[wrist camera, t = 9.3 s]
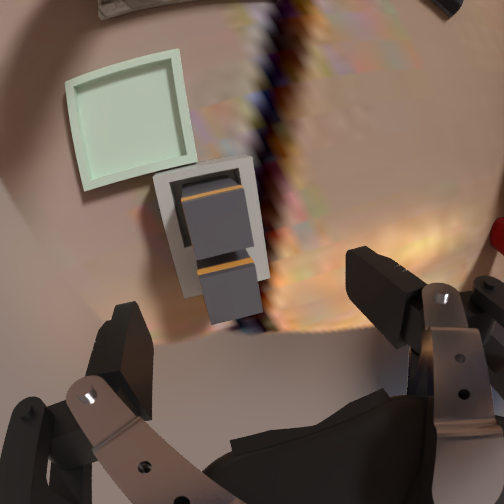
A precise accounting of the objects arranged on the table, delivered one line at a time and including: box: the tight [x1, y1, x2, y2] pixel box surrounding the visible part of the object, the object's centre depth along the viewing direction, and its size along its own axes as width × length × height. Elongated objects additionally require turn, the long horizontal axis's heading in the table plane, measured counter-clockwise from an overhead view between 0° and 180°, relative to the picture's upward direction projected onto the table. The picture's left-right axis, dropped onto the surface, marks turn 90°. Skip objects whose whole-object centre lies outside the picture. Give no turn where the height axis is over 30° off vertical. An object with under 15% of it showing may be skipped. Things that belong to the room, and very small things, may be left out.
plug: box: [181, 175, 254, 261], centre depth 23 cm, size 4×4×8 cm
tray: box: [65, 49, 198, 192], centre depth 22 cm, size 11×11×2 cm
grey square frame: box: [153, 154, 270, 325], centre depth 24 cm, size 11×8×9 cm
